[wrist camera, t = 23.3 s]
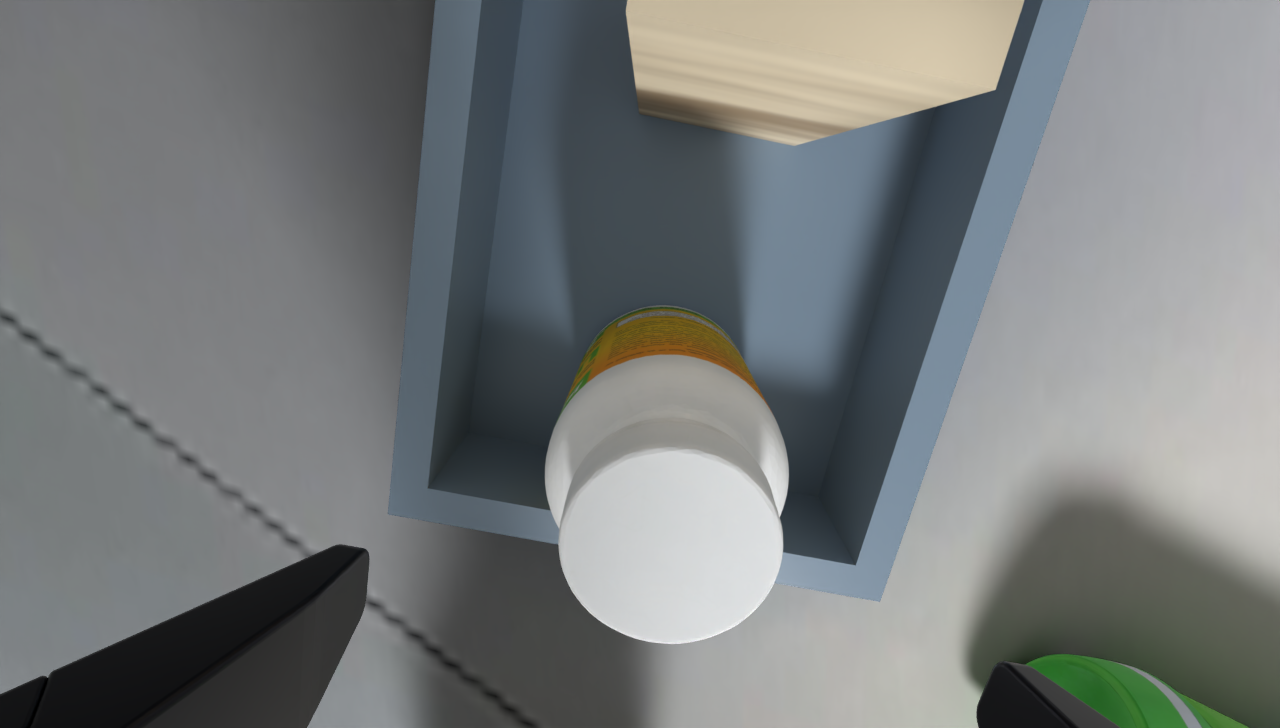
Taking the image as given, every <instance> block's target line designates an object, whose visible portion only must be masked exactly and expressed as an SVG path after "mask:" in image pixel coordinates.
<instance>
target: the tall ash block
mask: <svg viewBox="0 0 1280 728" xmlns="http://www.w3.org/2000/svg"><path fill="white" fill-rule="evenodd" d="M1023 3H1024V0H628V1H627V6H626V17H627V25H628V32H629V40H630V47H631V55H632V63H633V70H634V78H635V85H636V93H637V101H638V108H639V114H642V115H647V116H652V117H657V118H662V119H666V120H671V121H676V122H681V123H686V124H691V125H695V126H700V127H705V128H710V129H715V130H720V131H724V132H729V133H734V134H739V135H744V136H749V137H753V138H758V139H763V140H768V141H773V142H778V143H782V144H787V145H792V146H796V145H799V144H803V143H807V142H810V141H814V140H817V139H821V138H824V137H828V136H832V135H835V134H839V133H842V132H846V131H850V130H853V129H857V128H860V127H864V126H868V125H871V124H875V123H878V122H882V121H886V120H889V119H893V118H896V117H900V116H903V115H907V114H911V113H914V112H918V111H921V110H925V109H929V108H932V107H936V106H939V105H943V104H947V103H950V102H954V101H957V100H961V99H965V98H968V97H972V96H975V95H979V94H983V93H986V92H990V91H993V90H996V87H997V84H998V81H999V77H1000V74H1001V71H1002V68H1003V65H1004V62H1005V59H1006V56H1007V53H1008V50H1009V47H1010V44H1011V40H1012V37H1013V34H1014V31H1015V28H1016V25H1017V22H1018V19H1019V16H1020V13H1021V10H1022V6H1023Z"/></svg>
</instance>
